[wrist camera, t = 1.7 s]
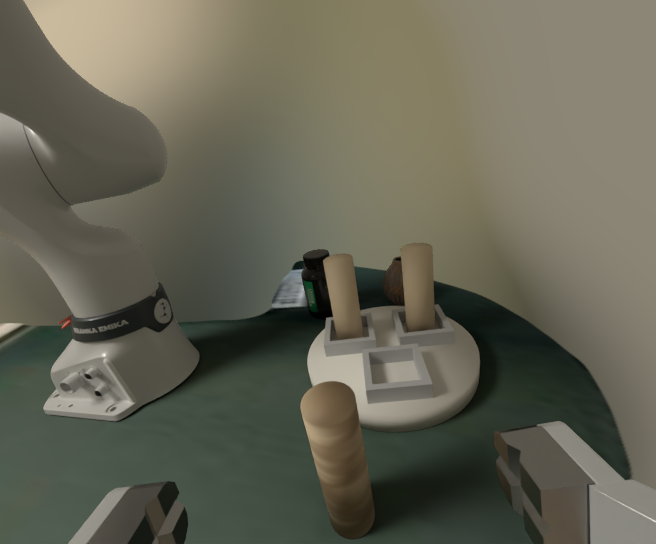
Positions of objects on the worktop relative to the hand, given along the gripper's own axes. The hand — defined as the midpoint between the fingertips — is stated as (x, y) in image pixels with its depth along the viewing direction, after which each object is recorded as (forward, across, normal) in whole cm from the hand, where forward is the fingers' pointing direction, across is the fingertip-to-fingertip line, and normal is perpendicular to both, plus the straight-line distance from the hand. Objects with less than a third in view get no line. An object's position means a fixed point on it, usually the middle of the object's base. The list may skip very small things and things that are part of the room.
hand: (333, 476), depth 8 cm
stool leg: (+15, +2, +20) cm, 25 cm away
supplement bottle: (+51, +4, +13) cm, 53 cm away
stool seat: (+34, -5, +17) cm, 38 cm away
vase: (+50, -11, +14) cm, 53 cm away
